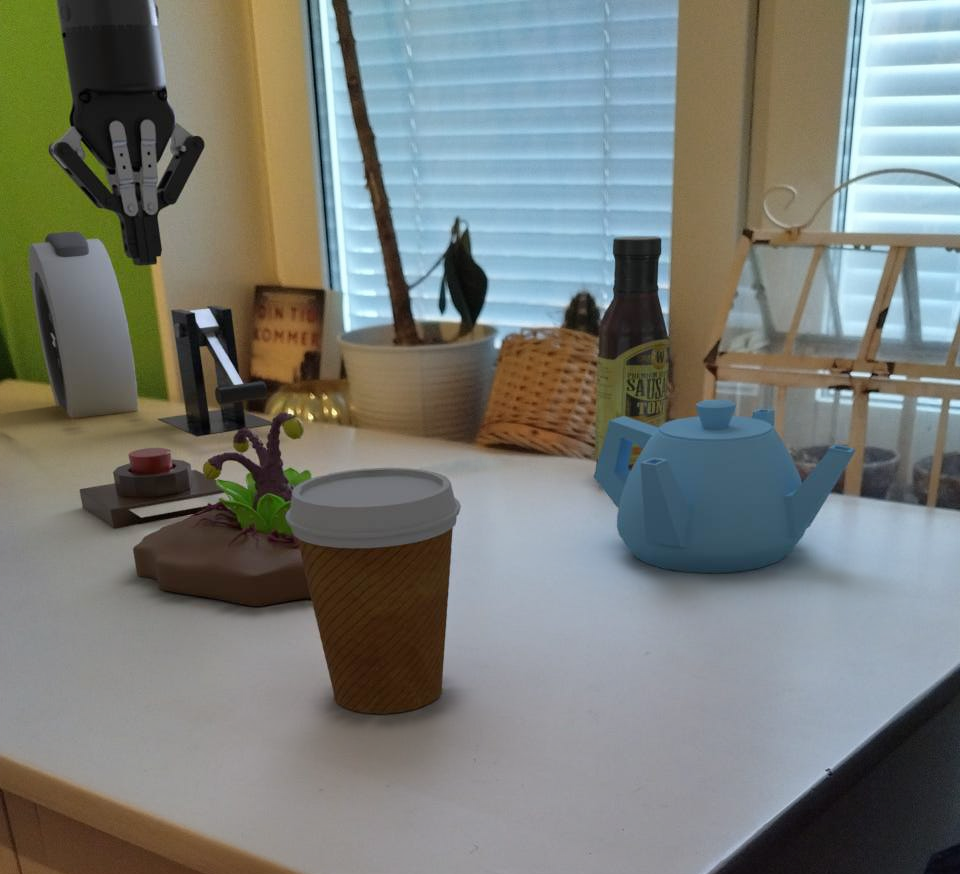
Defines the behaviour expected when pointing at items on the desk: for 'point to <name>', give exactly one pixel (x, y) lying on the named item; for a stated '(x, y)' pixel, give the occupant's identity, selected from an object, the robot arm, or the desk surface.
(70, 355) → the alarm clock
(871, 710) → the desk surface
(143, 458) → the button
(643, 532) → the teapot
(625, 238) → the sauce bottle
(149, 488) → the button block
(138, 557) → the plant
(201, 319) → the lever
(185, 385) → the black upright frame
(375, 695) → the disposable coffee cup
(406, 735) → the desk surface
